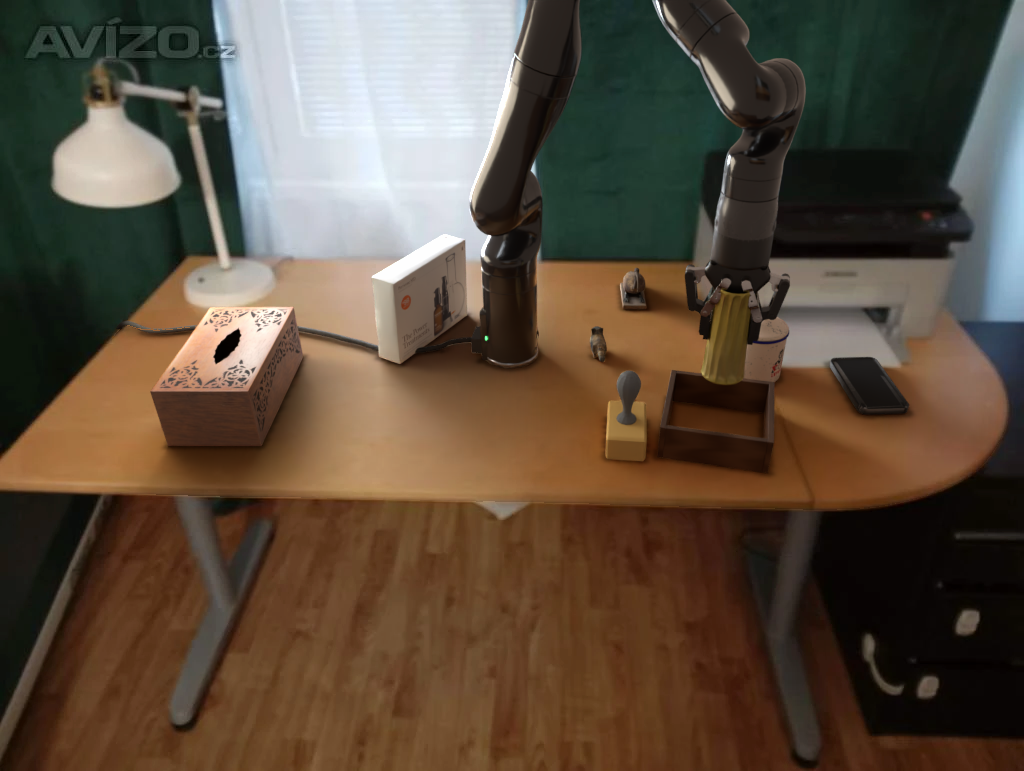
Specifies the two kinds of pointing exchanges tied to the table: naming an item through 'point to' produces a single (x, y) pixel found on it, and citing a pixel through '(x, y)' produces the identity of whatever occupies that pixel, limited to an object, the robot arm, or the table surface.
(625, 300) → the figurine
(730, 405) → the crate
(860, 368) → the phone
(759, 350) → the teacup with lid
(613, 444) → the rubber stamp
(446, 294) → the skincare box
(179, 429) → the tissue box cover
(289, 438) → the table surface
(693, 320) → the table surface
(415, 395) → the table surface
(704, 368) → the vase
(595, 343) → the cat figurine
